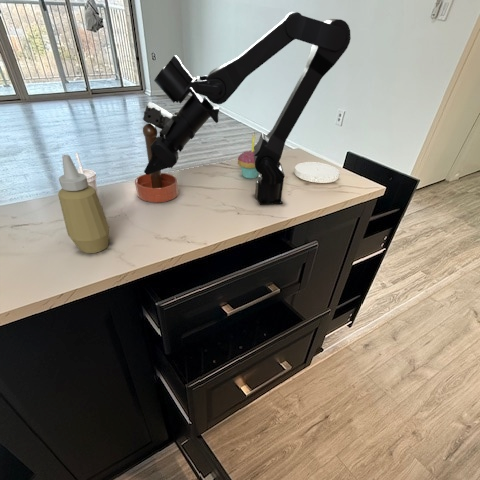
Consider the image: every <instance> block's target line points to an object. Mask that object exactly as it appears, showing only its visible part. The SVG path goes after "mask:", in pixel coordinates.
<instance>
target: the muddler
mask: <svg viewBox="0 0 480 480" xmlns="http://www.w3.org/2000/svg"><path fill="white" fill-rule="evenodd" d="M142 134H143V136H144V140H145V148H146V154H147V162H148V163H149V161H150V159H151V157H152V152H151V150H150V146H151V145H152V143H153V142H154V140H155V139H156V138H157V137H158V129H157V127H156V126H154V125H153V124H151V123H145V124H144V125H143V126H142ZM161 173H162V170H160V171H157V172H154V173H152V174H150V176H151V183H152V188H162V187H163V185H162V177H161Z"/></svg>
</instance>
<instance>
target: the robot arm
mask: <svg viewBox="0 0 480 480" xmlns="http://www.w3.org/2000/svg"><path fill="white" fill-rule="evenodd" d="M351 37H352V36H351V29H350V25H349V24H348V23H347V22H346V20H343V19H341V18H340V19H339V18H328V19H326V20H325V21H323V20H318V19H315V18H312V17H309V16H306V15H302V14H301V13H300V12H298V11H291V12H289V13H287V14H286V15H285V17H284V18H283V19H282V20H281V21H280V22H279V23H277V24H276V25H275V26H273V28H271V29H270V30H269V31H268V32H266V33H265V34H264V35H263V36H262V37H260V38H259V39H258V40H257V41H255V42H254V43H252V45H251V46H249V47H248V48H247V49H246V50H245V51H243V52H242V53H241V54H240V55H239V56H237V57H235V58H233V59H231V60H228V61H227V62H225V63H223V64H221V65H219V66H218V67H216V68H213V69H212V70H211V71H210V72H209V73H208V74H207V75H197V76H192V75H191V74H190V72H189V70H188V69H187V68H186V67H185V66H184V64H183V63H182V61H181V59H180V58H179V57H178V56H177V55H176V54H174V55H173V56H172V58H171V59H170V60H168V63H167V64H166V65H165V66H164V67H162V68H161V70H160V71H159V73H157V75H156V76H155V78H154V80H153V82H154V83H155V84H156V85H157V86H158V87H159V88H160V90H161V91H162V92H163V93H164V94H165V95H166V96H167V97H168V99H169V100H170V101H171V102H172V103H173V104H175V103H177V104H178V103H179V104H182V103H183V102H184V101H185V99H186V98H187V97H188V95H190V94H191V95H190V97H188V99H187V100H186V102H184V104H183V105H182V107H180V108H179V110H176V111H175V112H174V113H173V114H172V113H171V112H169V111H168V110H166V109H165V108H163V107H161V106H159V105H157V104H156V103H154V102H152V101H149V102H148V103H147V104H146V105H145V106H146V107H145V110H144V112H143V117H142V120H143V121H144V122H145V123H146V124H148V123H150V124H153V125H154V126H155V127H156V128H158V129H160V131H159V136H157V138H156V139H155V140H154V142H153V143H152V145H151V146H150V150H151V152H152V157H151V159H150V161H149V162H148V163H147V165H146V167H145V169H144V171H143V174H147V175H149V174H152V173H154V172H157V171H160V170H161V171H163V170H166V169H173V168H174V166H176V164H177V163H178V161H179V152H180V153H181V152H182V151H183V150H184V147H185V146H186V145H187V144H188V142H189V141H191V140H192V139H194V138H195V135H196V133H197V132H198V131H199V130H200V129H201V128H202V127H203V126H204V125H205V124H206V122H207V121H208V120H209V118H211V119H212V120H213V121H214V123H216V124H218V123H219V119H220V118H219V117H220V116H219V112H220V107H219V106H214V105H213V104H215V105H222V104H225V103H226V102H227V101H228V100H229V99H230V97H232V95H233V94H234V93H235V92H236V91H237V89H239V87H240V85H242V83H243V82H244V80H245V79H246V78H247V77H248V76H250V75H251V74H252V73H254V72H255V71H256V70H258V69H259V68H260V67H261V66H262V65H263V64H265V63H267V62H268V61H269V60H271V58H273V57H274V56H275V55H277V54H278V53H279V52H280V51H282V50H283V49H284V48H285V47H286V46H288V45H289V44H291V43H292V42H293V41H295V40H297V41H301V42H305V43H307V44H310V45H311V48H310V51H309V54H308V57H307V61H306V65H305V67H304V69H303V71H302V73H301V75H300V77H299V78H298V80H297V82H296V84H295V86H294V87H293V89H292V92H291V94H290V96H289V97H288V99H287V101H286V102H285V105H284V106H283V108H282V110H281V112H280V114H279V116H278V117H277V120H276V121H275V123H274V125H273V127H272V129H271V130H270V131H269V132H268V133H267V134H266V135H265V133H263V132H261V133H260V135H259V139H258V141H257V142H256V144H254V162H255V168H256V170H257V171H258V172H259V174H258V176H257V181H255V191H254V197H255V199H256V200H257V202H258V204H259V205H260V206H266V205H267V206H269V205H271V206H272V205H283V204H284V201H283V199H282V195H283V190H284V183H285V182H284V181H285V172H284V169H283V166H282V165H283V164H282V163H281V162H280V161H281V158H282V155H283V152H284V148H285V145H286V142H287V139H288V138H289V136H290V134H291V132H292V131H293V129H294V127H295V125H296V124H297V122H298V120H299V119H300V116H301V115H302V113H303V112H304V110H305V108H306V106H307V105H308V103H309V101H310V99H311V98H312V96H313V94H314V93H315V91H316V89H317V88H318V85H319V84H320V82H321V81H322V79H323V77H325V76H326V74H327V73H328V72H329V71H330V70H331V69H332V68H333V67H335V65H336V64H337V62H338V61H339V60H340V58H341V57H343V55H344V53H345V52H346V51H347V49H348V47H349V45H350V43H351V39H352V38H351ZM202 96H204V97H202Z"/></svg>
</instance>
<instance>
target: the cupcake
mask: <svg viewBox="0 0 480 480" xmlns="http://www.w3.org/2000/svg"><path fill="white" fill-rule="evenodd" d="M255 133H256V132H255V131H253V135H252V140H251V141H252V142H251V150H245V151H243V152H241V153H240V154H239V155H238V156H237V165H238V166H239V167H240V169H241V173H242V174H241V175H242V177H243V178H245V179H256V178H258V176H259V175H260V173H259V172H258V171H257V170H256V168H255V162H254V146H255V141H256V140H255V139H256V134H255Z"/></svg>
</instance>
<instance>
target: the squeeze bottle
mask: <svg viewBox="0 0 480 480" xmlns="http://www.w3.org/2000/svg"><path fill="white" fill-rule="evenodd" d="M61 159H62V168H63V174H62V175H61V176H59V177H58V183H59V185H60V187H61V188H60V189H59V191H58V193H57V196H58V200H59V204H60V208H61V213H62V216H63V220H64V225H65V229H66V234H67V236H68V237H69V239H71V241H72V242H73V243H74V244H75V246H76V247H77V248H78V249H79V251H80V252H81V253H85V254H96V253H99V252H103V251H104V250H106V249H107V248H108V246H109V238H110V232H111V231H110V225H109V222H108V219H107V217H106V215H105V211H104V209H103V206H102V204H101V201H100V199H99V195H98V196H97V193H96V190H95V189H94V188H93V187H91V186H90V185H88V181H87V177H86V176H85V175H84V174H81V173H78V171H77V169H78V168H77V166H76V165H75V163H74V161H73V159H72V158H71V156H70V155H69V154H63V155H62V156H61Z"/></svg>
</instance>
